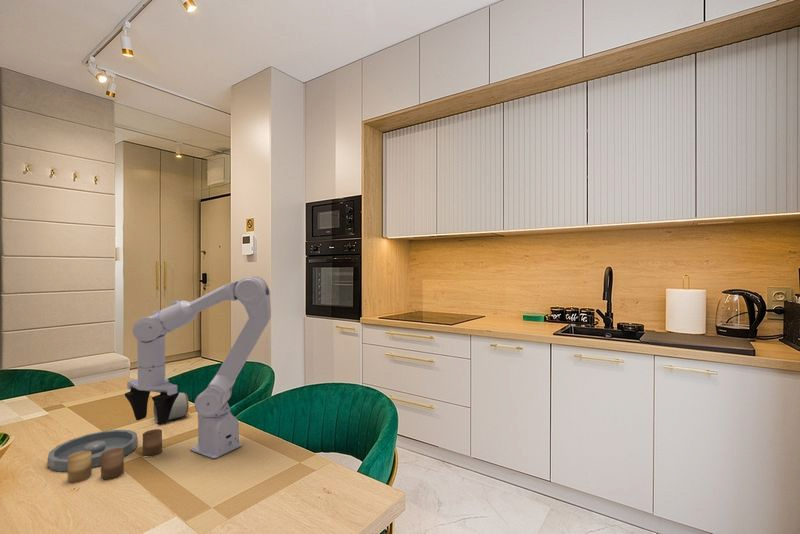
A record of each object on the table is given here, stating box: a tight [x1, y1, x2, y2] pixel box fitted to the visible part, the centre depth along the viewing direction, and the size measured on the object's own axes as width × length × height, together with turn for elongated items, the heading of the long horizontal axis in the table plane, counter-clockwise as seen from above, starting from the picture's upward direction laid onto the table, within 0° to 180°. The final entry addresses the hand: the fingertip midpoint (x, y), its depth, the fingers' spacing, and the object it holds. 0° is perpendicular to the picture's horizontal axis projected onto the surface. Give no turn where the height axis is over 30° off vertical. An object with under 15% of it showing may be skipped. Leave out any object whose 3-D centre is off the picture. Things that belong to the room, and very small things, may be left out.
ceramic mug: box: [152, 392, 190, 424], centre depth 119 cm, size 11×8×8 cm
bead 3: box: [142, 428, 163, 457], centre depth 96 cm, size 4×4×5 cm
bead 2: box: [100, 448, 125, 481], centre depth 86 cm, size 4×4×5 cm
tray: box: [47, 429, 139, 473], centre depth 96 cm, size 17×17×2 cm
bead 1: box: [67, 451, 93, 484], centre depth 85 cm, size 4×4×5 cm
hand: (152, 421), depth 96 cm, fingers open, 7 cm apart
